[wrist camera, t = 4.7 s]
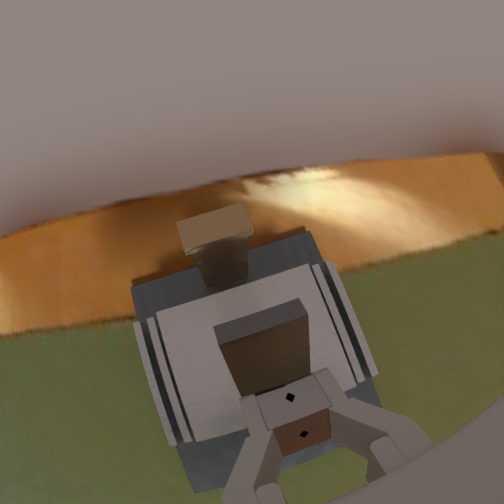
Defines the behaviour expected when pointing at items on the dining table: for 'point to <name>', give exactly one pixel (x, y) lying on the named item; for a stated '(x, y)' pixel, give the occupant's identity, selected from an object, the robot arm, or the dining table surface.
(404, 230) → the dining table surface
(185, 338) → the grey boxy piece
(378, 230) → the dining table surface
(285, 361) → the retention strap
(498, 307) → the dining table surface
